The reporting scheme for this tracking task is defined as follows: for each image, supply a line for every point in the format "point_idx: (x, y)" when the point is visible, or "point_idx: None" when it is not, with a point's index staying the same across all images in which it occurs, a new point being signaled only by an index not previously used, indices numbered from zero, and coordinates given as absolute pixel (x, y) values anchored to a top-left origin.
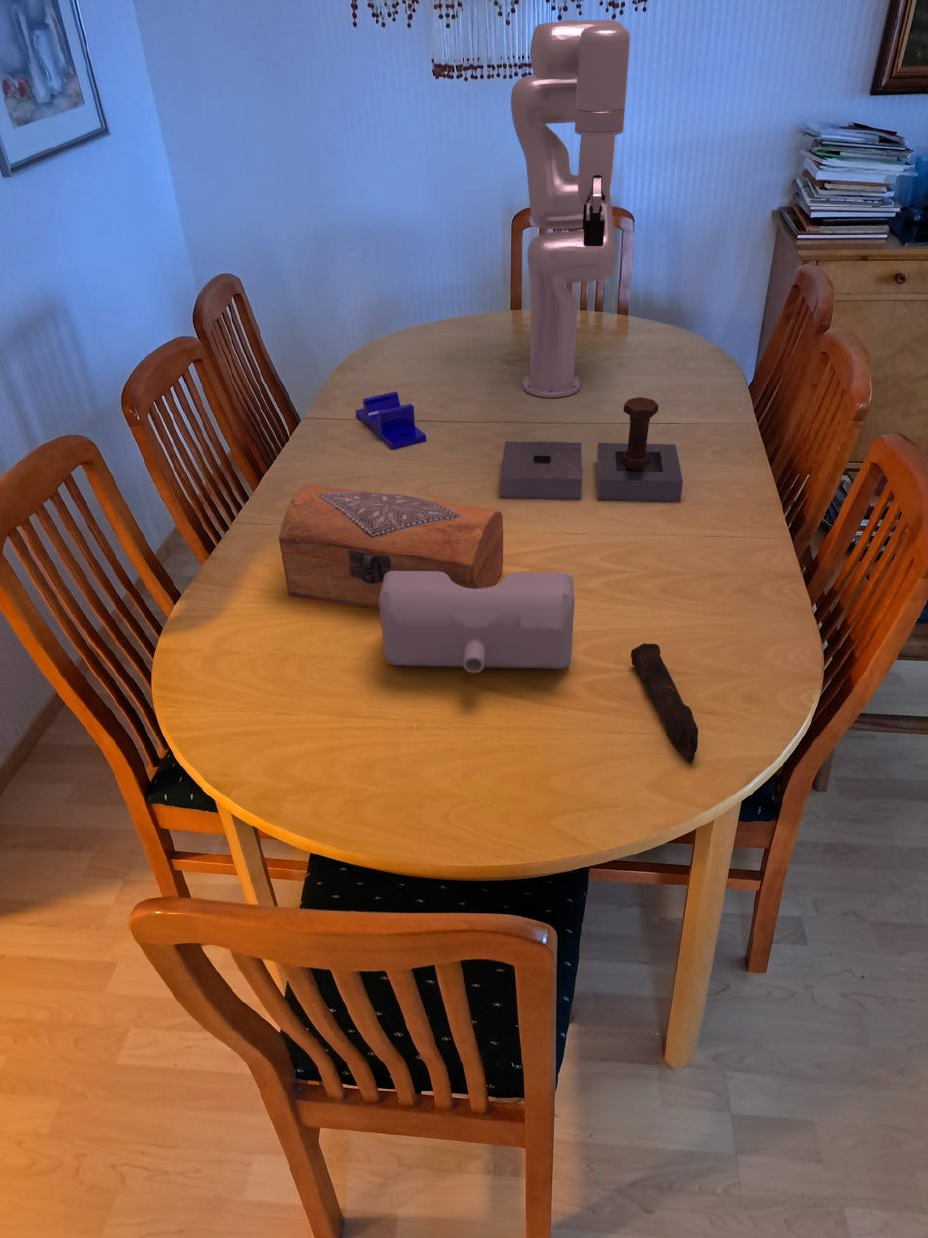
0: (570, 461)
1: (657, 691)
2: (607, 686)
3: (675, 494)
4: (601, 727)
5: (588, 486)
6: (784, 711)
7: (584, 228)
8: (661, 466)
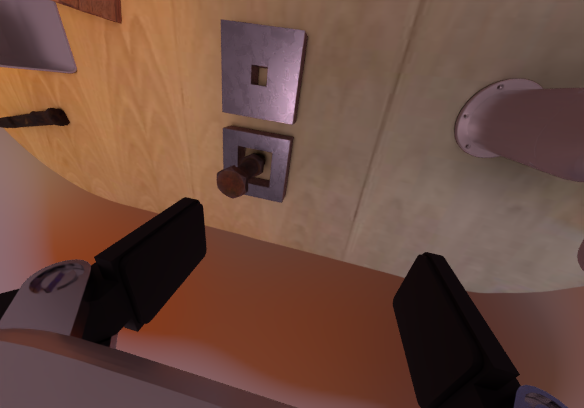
0: (254, 106)
1: (23, 115)
2: (41, 91)
3: None
4: (13, 81)
5: (253, 121)
6: (64, 173)
7: (136, 230)
8: (252, 183)
